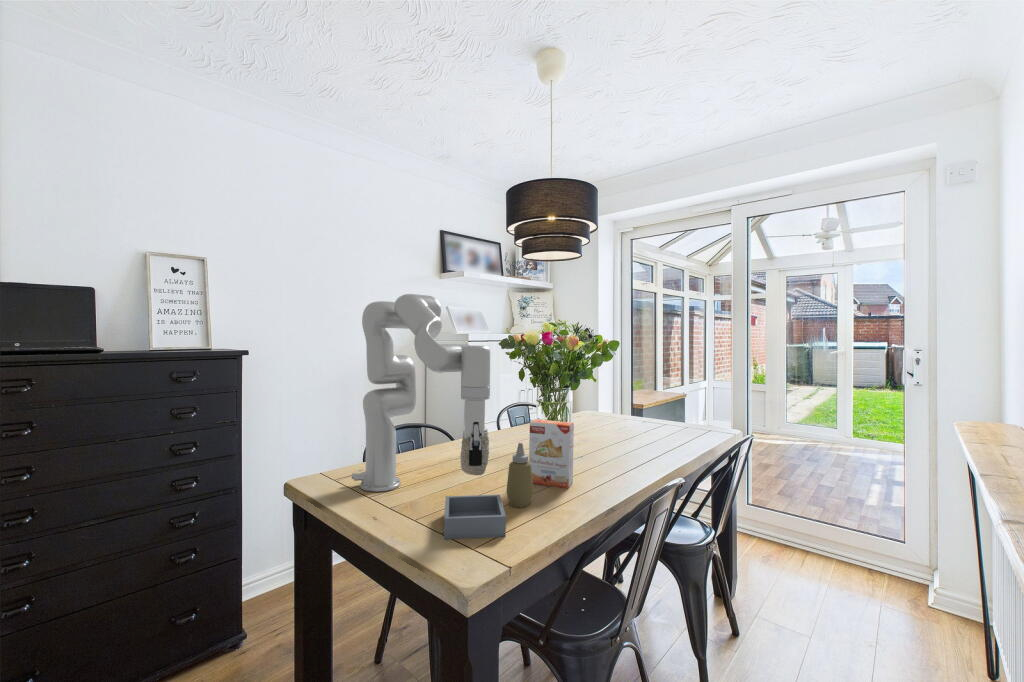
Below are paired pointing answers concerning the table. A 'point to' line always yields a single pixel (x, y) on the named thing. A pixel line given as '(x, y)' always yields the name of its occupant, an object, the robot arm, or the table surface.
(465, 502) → the bin
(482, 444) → the carving
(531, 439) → the cracker box
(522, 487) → the squeeze bottle
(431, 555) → the table surface
